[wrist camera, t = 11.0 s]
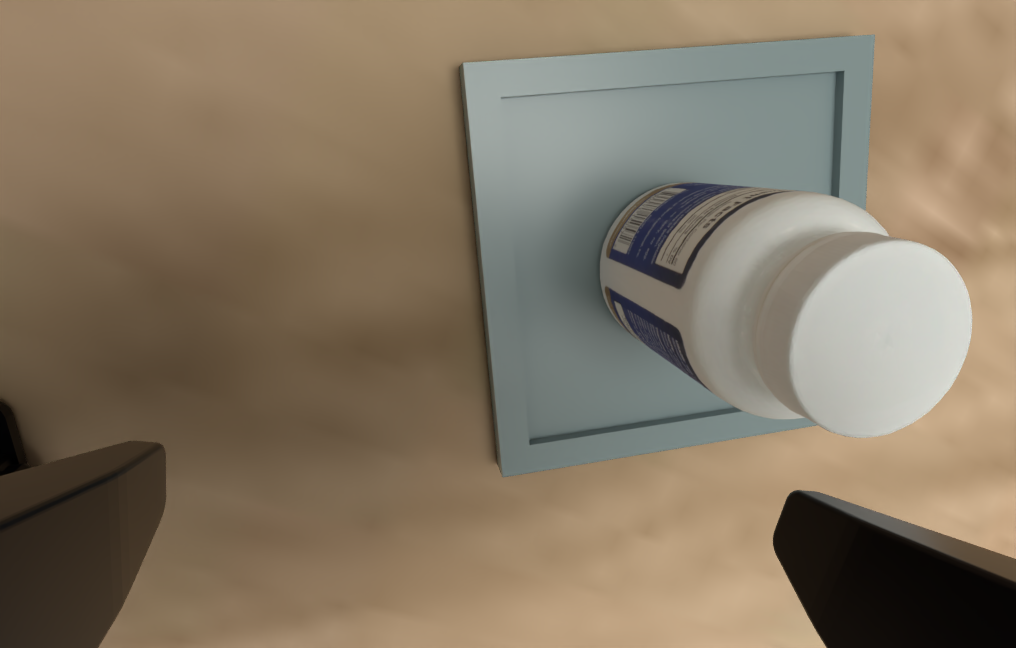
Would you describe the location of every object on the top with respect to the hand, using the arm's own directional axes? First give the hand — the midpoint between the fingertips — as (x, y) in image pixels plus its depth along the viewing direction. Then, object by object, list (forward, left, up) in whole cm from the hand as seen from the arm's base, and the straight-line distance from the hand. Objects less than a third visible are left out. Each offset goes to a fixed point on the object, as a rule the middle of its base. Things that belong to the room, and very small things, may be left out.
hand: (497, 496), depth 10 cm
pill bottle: (+8, +1, -12) cm, 15 cm away
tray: (+8, +1, -13) cm, 15 cm away
